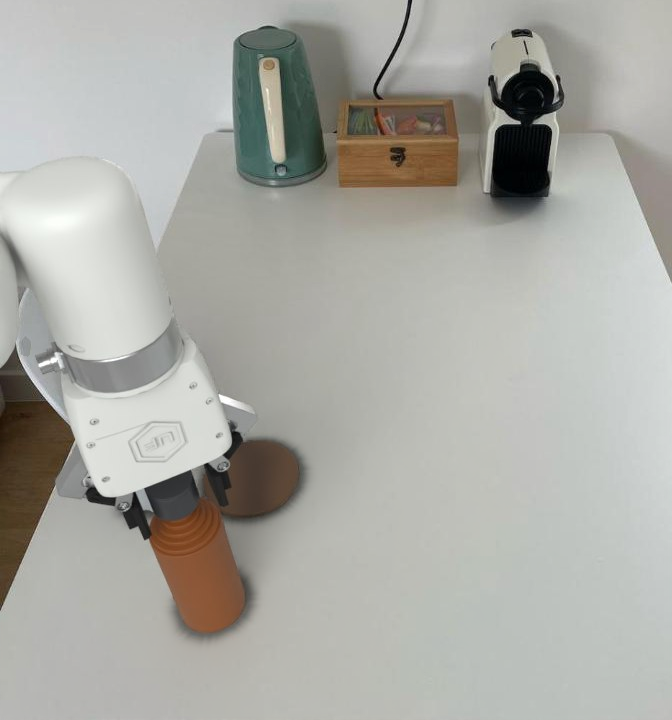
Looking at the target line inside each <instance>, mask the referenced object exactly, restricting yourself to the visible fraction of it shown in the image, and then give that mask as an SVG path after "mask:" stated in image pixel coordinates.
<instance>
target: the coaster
mask: <svg viewBox="0 0 672 720" xmlns="http://www.w3.org/2000/svg"><path fill="white" fill-rule="evenodd" d="M229 462H230V467H229V468H228V469H227V471H228V475H229V478H230V482H231V485H232V488H229V489H227V490H225V492H226V496H227V499H228V503H229V505H227V506H225V507H223V506H221V507H220V506H219V503H218V501H217V499H216V497H215V495H214V492H213V490H212V488H211V486H210V483H209V481H208V477H207V474H206V471H205V472H204V475H203V481H202V488H203V492H204V495H205V499H207V500H209V501H210V502H211V503H213V504H214V505H215V506H216V507H217V508H218V510H219V512H220V514H223V515H225V516H227V517H232V518H237V519H251V518H257V517H261V516H263V515H266V514H269V513H271V512H273V511H275V510H277V509H279V508H281V506H283V505H284V504H285V503H286V502H287V501H288V500H289V499H290V498H291V497H292V496H293V494H294V492H295V491H296V489H297V486H298V484H299V480H300V470H299V465H298V462H297V460H296V458H295V456H294V454H292V452H291V451H290V450H289V449H287V448H286V447H285V446H283V445H282V444H279V443H276V442H274V441H269V440H261V439H258V440H257V439H256V440H248V441H242V443H241V445H240V446H239V447H238V449H237V450H236V451H235V453H234V454H233V455H232V457H231V458H230V459H229Z"/></svg>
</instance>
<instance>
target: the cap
mask: <svg viewBox="0 0 672 720" xmlns="http://www.w3.org/2000/svg"><path fill="white" fill-rule="evenodd" d="M144 490H145V493H146V495H147V498H148V500H149V502H150V505H151V507H152V510H153V512H152V513H153V515H154V514H155V515H156V516H157V517H158V518H160V519H162V520H165V521H176V520H180V519H183V518H185V517H187V516H188V515H190V514H191V513H192V512H193V511H194V510H195V509H196V507H197V506H198V503H199V499H200V497H201V495H200V492H199V489H198V487H197V483H196V480H195V477H194V473H193V471H192V469H191V470H189V471H186V472H184V473H181V474H179V475H176V476H174V477H171V478H169V479H166V480H164V481H161V482H159V483H156V484H153V485H151V486H148V487H146V488H144Z"/></svg>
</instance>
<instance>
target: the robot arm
mask: <svg viewBox="0 0 672 720" xmlns="http://www.w3.org/2000/svg"><path fill="white" fill-rule="evenodd" d="M164 277H165V276H164V274H163V270H162V268H161V264H160V261H159V258H158V254H157V251H156V247H155V243H154V240H153V237H152V233H151V230H150V227H149V223H148V220H147V216H146V213H145V209H144V206H143V201H142V199H141V196H140V194H139V190H138V188H137V185H136V183H135V181H134V180H133V178H132V176H131V175H130V174H129V173H128V171H126V169H124V168H122V167H121V165H119V164H117V163H115V162H113V161H111V160H108V159H105V158H100V157H98V156H97V157H96V156H87V155H83V156H79V155H78V156H68V157H62V158H57V159H52V160H49V161H46V162H43V163H40V164H38V165H36V166H35V165H34V166H33V167H31V168H29V169H27V170H15V171H14V170H13V171H0V369H1V368H2V367H3V366H4V365H5V364H6V363H7V362H8V360H9V358H10V356H11V355H12V353H13V352H14V350H15V348H16V343H17V341H18V338H19V334H20V333H19V332H20V304H19V303H20V302H19V301H20V300H19V291H18V288H19V287H24V288H27V289H29V290H30V291H31V292H32V293H33V295H34V298H35V299H36V301H37V303H38V305H39V308H40V310H41V313H42V315H43V318H44V319H45V321H46V324H47V326H48V329H49V331H50V333H51V335H52V338H53V340H54V341H52V342H50V344H51V347H49V348H46V350H45V351H44V352H41V353H38V354H35V355H34V357H35V360H36V363H37V365H38V368H39V370H40V372H41V374H42V375H46V374H49V373H52V372H54V373H59V372H60V385H61V392H62V393H61V394H62V399H63V405H64V409H65V414H66V416H67V419H68V422H69V426H70V429H71V432H72V435H73V437H74V440H75V443H76V446H75V448H74V449H73V451H72V452H71V454H70V455H69V457H68V458H67V460H66V462H65V463H64V465H63V467H62V468H61V470H60V472H59V473H58V475H57V477H56V478H55V479H54V483H55V488H56V491H57V495H58V497H61V498H68V499H74V500H83V499H85V500H87V501H88V502H89V503H90V504H96V505H97V504H98V505H103V506H110V507H114V510H115V512H118V513H121V514H122V516H123V518H124V520H125V523H126V525H127V528H128V530H133V529H136V528H138V530H139V532H140V535H141V537H142V539H143V541H146V540H149V538H150V536H152V533H151V530H150V527H149V526H150V523H149V522H148V518H147V516H146V514H145V510H144V511H143V508H142V506H141V503H140V501H139V499H138V496H137V494H136V491H138V490H141V489H143V488H146V487H148V486H151V485H153V484H156V483H159V482H161V481H164V480H166V479H169V478H171V477H174V476H176V475H179V474H181V473H184V472H186V471H189V470H191V471H192V470H194V469H195V468H198V467H200V466H203V467H204V471H205V472H206V474H207V477H208V481H209V483H210V486H211V488H212V490H213V492H214V495H215V497H216V499H217V501H218V503H219V506H220V507H221V506H223V507H225V506H227V505H229V503H228V499H227V496H226V492H225V490H227V489H229V488H232V485H231V482H230V478H229V475H228V471H227V469H228V468H229V467H230V462H229V459H230V458H231V457H232V455H233V454H234V453H235V451H236V450H237V449H238V447H239V446H240V445H241V443H243V442H244V439H243V437H244V436H246V435H248V433H249V432H250V431H251V429H252V428H253V427H254V425H255V424H256V423H257V421H258V420H259V416H258V414H257V412H256V410H255V409H254V407H253V405H251V404H248V403H246V402H243V401H241V400H238V399H234V398H232V397H229V396H226V395H223V394H220V393H219V392H218V389H217V386H216V384H215V381H214V379H213V376H212V374H211V371H210V368H209V366H208V364H207V362H206V360H205V358H204V357H203V355H202V353H201V350H200V349H199V347H198V346H197V344H196V342H195V341H194V340H193V339H192V338H191V336H190V334H189V333H188V332H187V331H186V330H185V329H184V328H182V327H180V326H179V325H178V322H177V318H176V314H175V311H174V308H173V304H172V302H171V298H170V295H169V291H168V288H167V285H166V282H165V278H164ZM228 421H229V422H228ZM87 475H89V476H87Z"/></svg>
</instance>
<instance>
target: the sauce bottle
mask: <svg viewBox="0 0 672 720" xmlns="http://www.w3.org/2000/svg"><path fill="white" fill-rule="evenodd" d="M222 517H223V516H222V513H220V512H219V510H218V508H217V507H216V506H215V505H214V504H213V503H211V502H210V501H209V500H207V498H206V497H202V496H200V499H199V503H198V506H197V507H196V509H195V510H194V511H193V512H192V513H191V514H190V515H188V516H187V517H185V518H183V519H180V520H176V521H165V520H162V519H160V518H158V517H157V516H156V515H155V514H154V513H153V516H152V518H151V520H150V522H149V527H150V530H151V533H152V536H150V538H149V539H148V541H149V544H150V546H151V549H152V551H153V554H154V556H155V558H156V561H157V563H158V566H159V568H160V570H161V572H162V575H163V577H164V579H165V582H166V584H167V586H168V588H169V591H170V593H171V596H172V598H173V601H174V604H175V605H176V607H177V610H178V612H179V615H180V617H181V619H182V621H183V623H184V624H185V625H186V626H187V627H188V628H190V629H191V630H193V631H196V632H198V633H204V634H205V633H206V634H208V633H209V634H210V633H215V632H220V631H222V630H224V629H226V628H228V627H229V626H231V625H233V623H234V622H236V620H237V619H238V618H239V617H240V616H241V614H242V613H243V610H244V608H245V605H246V591H245V588H244V585H243V582H242V579H241V575H240V571H239V569H238V566H237V563H236V560H235V556H234V553H233V548H232V545H231V543H230V541H229V536H228V533H227V530H226V527H225V524H224V521H223V520H224V519H223V518H222Z"/></svg>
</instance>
